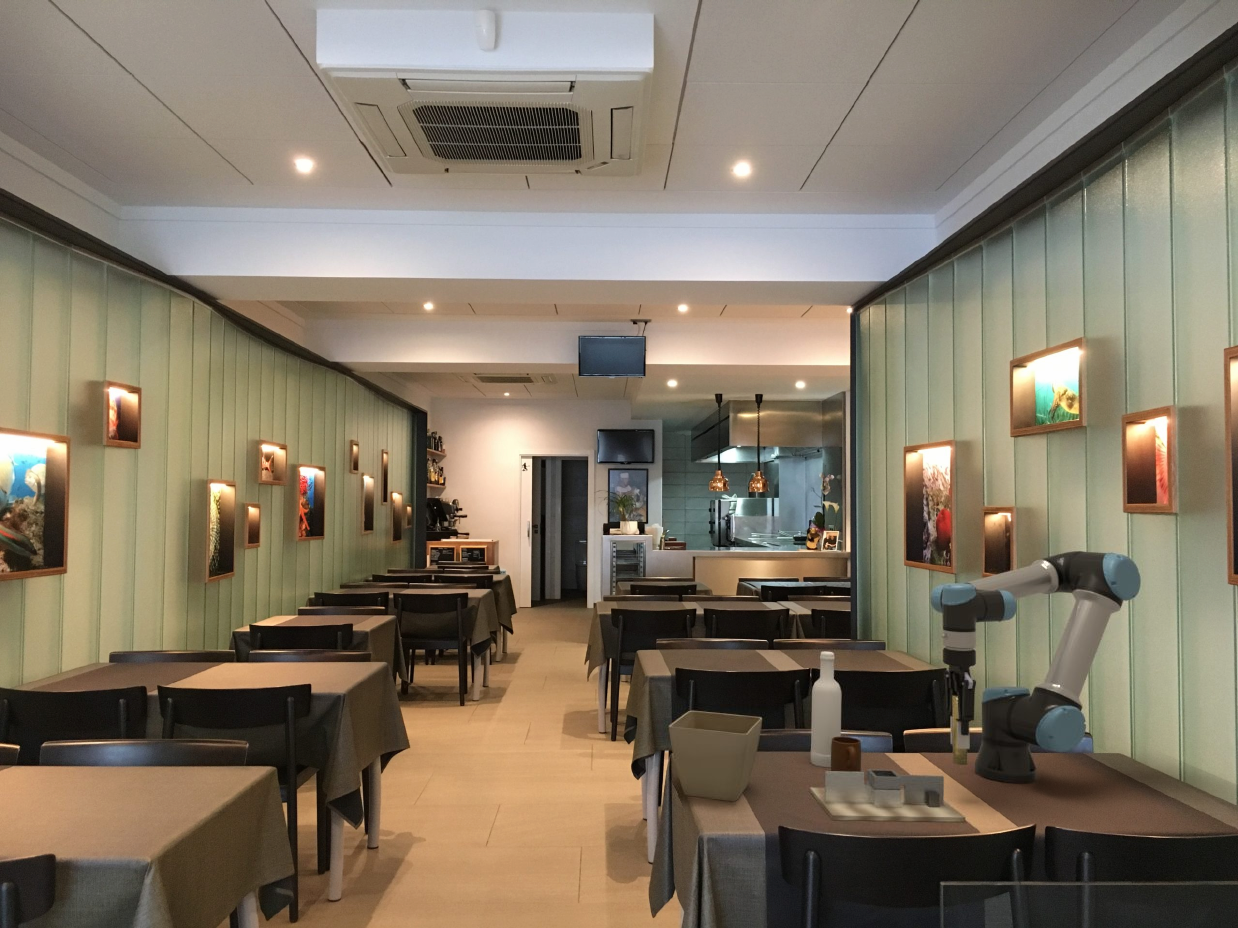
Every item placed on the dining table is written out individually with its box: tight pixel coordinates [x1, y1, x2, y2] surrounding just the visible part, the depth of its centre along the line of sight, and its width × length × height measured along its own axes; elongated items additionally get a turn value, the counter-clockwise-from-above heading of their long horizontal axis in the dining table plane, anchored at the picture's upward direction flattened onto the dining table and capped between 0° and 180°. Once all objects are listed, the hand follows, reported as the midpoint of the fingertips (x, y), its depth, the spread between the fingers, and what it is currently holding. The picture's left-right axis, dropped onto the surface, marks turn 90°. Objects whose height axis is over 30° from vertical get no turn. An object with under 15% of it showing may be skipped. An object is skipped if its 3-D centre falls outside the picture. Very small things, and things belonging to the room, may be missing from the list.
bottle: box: [810, 651, 842, 768], centre depth 247 cm, size 8×8×30 cm
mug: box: [830, 736, 862, 772], centre depth 233 cm, size 12×8×9 cm, turn 179°
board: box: [809, 787, 967, 823], centre depth 212 cm, size 30×20×1 cm, turn 92°
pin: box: [952, 695, 968, 766], centre depth 218 cm, size 3×3×16 cm
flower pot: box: [668, 710, 763, 802], centre depth 220 cm, size 19×19×17 cm
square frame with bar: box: [866, 768, 945, 804], centre depth 211 cm, size 17×6×6 cm, turn 90°
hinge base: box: [824, 770, 940, 808], centre depth 211 cm, size 26×6×7 cm, turn 92°
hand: (960, 745), depth 218 cm, fingers closed on pin, 3 cm apart
